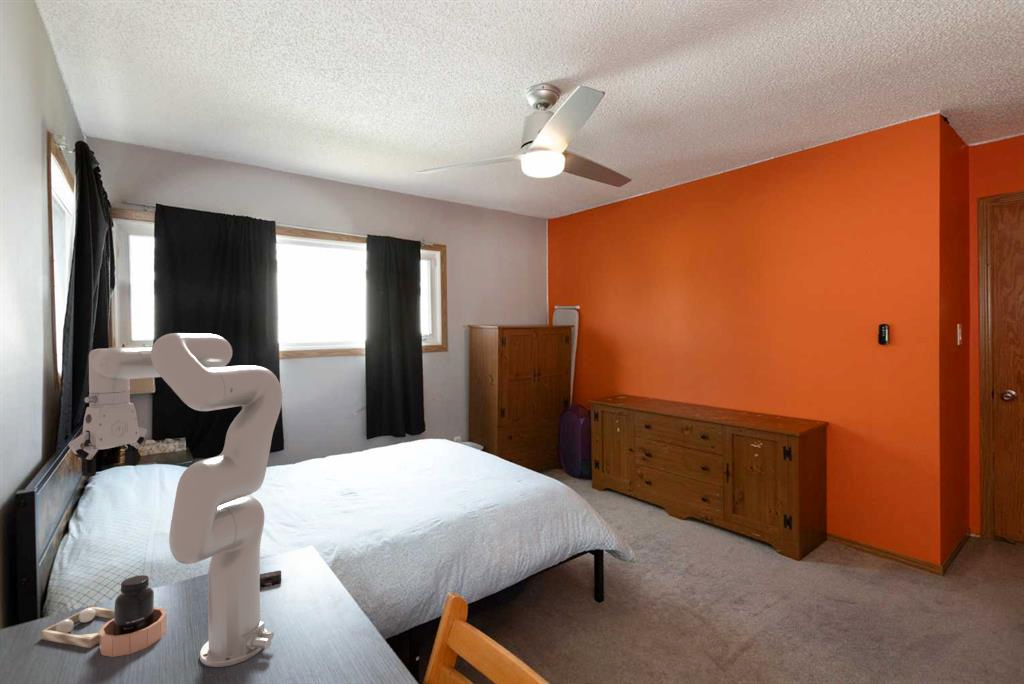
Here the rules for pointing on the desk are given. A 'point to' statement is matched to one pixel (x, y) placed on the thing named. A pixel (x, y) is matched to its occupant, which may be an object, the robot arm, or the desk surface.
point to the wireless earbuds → (270, 578)
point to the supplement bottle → (133, 606)
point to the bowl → (132, 636)
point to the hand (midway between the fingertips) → (110, 470)
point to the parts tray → (76, 640)
